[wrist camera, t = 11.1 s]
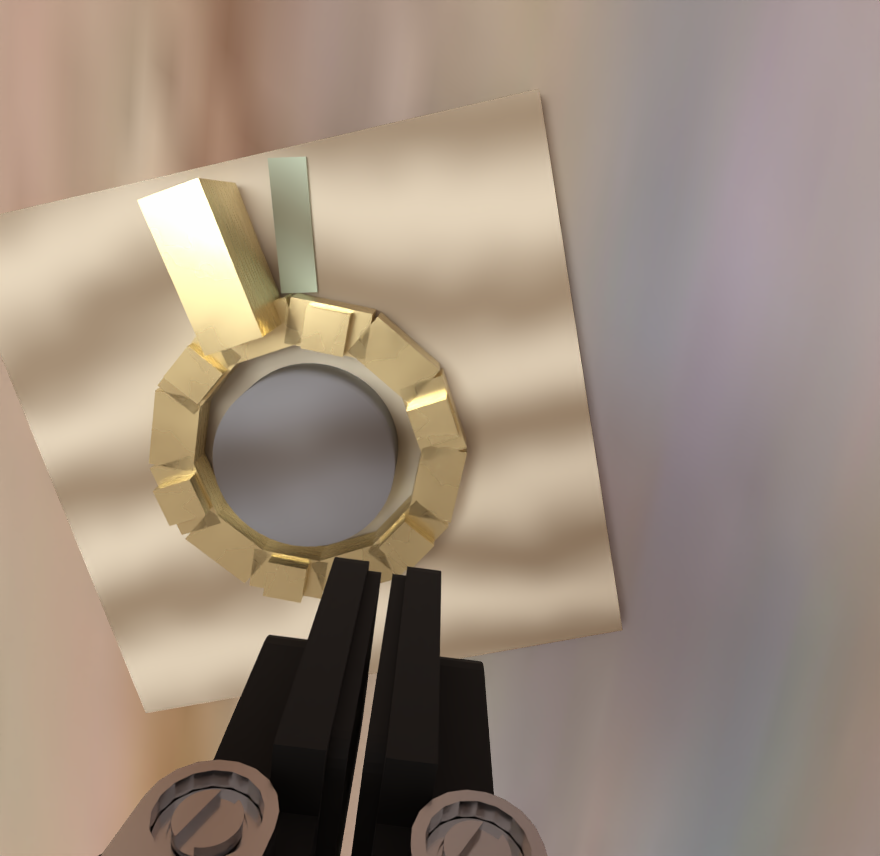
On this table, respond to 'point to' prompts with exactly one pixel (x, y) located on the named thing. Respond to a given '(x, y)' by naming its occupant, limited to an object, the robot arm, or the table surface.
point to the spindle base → (374, 252)
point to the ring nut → (261, 332)
